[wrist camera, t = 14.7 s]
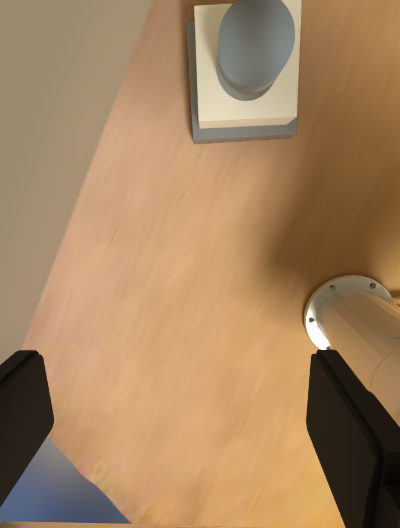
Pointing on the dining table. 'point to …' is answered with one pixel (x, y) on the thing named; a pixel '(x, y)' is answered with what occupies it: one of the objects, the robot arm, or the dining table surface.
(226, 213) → the dining table surface
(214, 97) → the tower top
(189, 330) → the dining table surface
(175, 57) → the dining table surface
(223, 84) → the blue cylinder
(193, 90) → the tower bottom
